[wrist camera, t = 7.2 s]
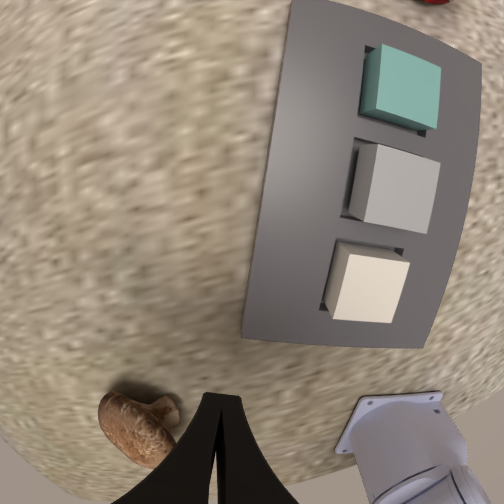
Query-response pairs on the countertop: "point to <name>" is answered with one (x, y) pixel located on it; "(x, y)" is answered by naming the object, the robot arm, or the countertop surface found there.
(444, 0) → the soda can
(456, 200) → the keypad
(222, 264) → the countertop surface
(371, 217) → the grey key
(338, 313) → the ivory key
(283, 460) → the countertop surface
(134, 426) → the mushroom
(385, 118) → the teal key
